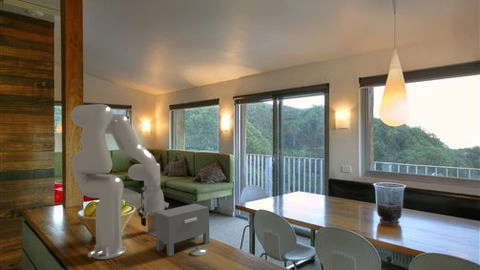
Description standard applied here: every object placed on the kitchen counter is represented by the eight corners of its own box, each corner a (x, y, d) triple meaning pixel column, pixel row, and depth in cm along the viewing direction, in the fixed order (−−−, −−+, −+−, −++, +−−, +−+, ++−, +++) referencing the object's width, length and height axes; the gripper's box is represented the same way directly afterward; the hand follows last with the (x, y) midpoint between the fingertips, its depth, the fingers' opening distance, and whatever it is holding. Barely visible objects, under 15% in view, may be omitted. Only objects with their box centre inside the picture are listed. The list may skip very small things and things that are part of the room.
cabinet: (170, 256, 116) (169, 217, 116) (156, 249, 124) (155, 212, 124) (210, 242, 131) (210, 207, 130) (195, 237, 138) (195, 203, 138)
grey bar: (168, 243, 131) (168, 223, 131) (143, 231, 148) (143, 213, 148) (178, 240, 135) (177, 221, 135) (152, 229, 151) (152, 211, 151)
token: (202, 257, 117) (202, 253, 116) (188, 255, 118) (188, 252, 118) (208, 251, 122) (208, 247, 122) (194, 249, 124) (194, 246, 124)
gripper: (139, 192, 137) (140, 229, 137) (172, 186, 149) (172, 220, 149) (131, 189, 142) (132, 225, 143) (164, 185, 155) (164, 218, 155)
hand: (153, 223), depth 146 cm, fingers open, 9 cm apart
